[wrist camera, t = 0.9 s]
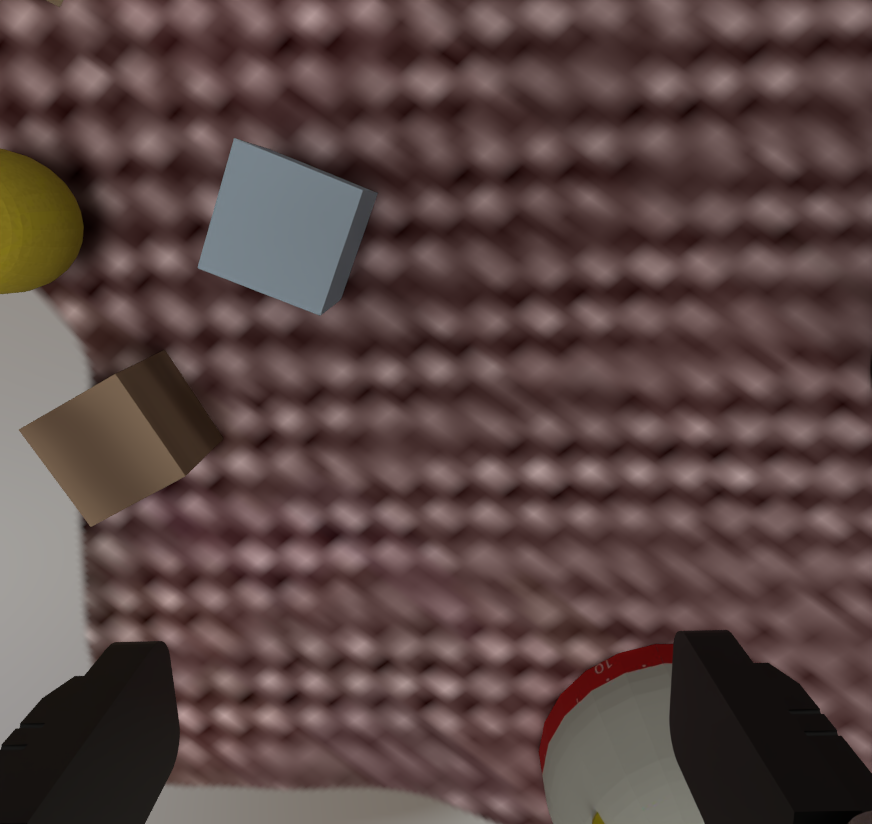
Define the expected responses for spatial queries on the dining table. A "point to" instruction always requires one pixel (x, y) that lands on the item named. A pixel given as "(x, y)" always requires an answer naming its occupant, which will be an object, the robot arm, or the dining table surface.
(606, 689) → the kitchen timer
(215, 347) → the dining table surface
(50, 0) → the block oak
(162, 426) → the block walnut
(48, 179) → the lemon
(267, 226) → the block slate
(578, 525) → the dining table surface
